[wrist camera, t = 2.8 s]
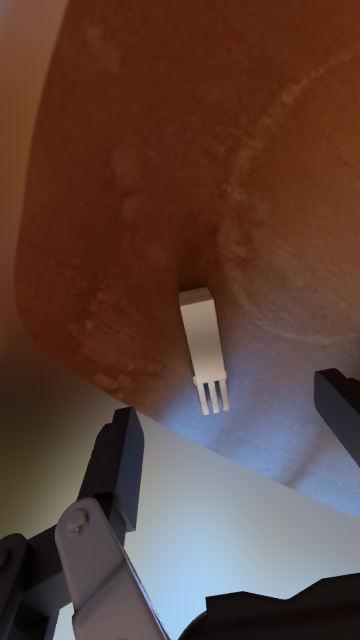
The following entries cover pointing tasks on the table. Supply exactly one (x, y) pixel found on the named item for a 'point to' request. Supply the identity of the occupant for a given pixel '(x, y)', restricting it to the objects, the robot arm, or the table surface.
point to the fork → (204, 346)
